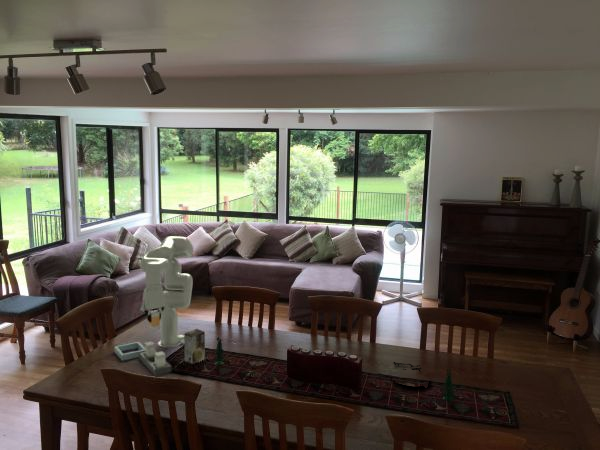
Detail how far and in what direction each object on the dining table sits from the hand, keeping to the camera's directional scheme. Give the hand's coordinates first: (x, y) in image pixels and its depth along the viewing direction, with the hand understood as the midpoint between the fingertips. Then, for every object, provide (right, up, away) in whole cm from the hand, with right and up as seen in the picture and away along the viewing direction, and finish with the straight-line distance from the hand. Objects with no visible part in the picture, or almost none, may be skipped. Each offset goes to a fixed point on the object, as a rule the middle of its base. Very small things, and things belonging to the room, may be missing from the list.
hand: (154, 320), depth 255 cm
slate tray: (-18, -22, +17) cm, 33 cm away
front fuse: (+4, -25, -2) cm, 25 cm away
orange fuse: (0, -4, +1) cm, 4 cm away
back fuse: (-5, -22, +10) cm, 25 cm away
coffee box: (+18, -24, +12) cm, 32 cm away
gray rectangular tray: (-1, -25, +4) cm, 25 cm away
